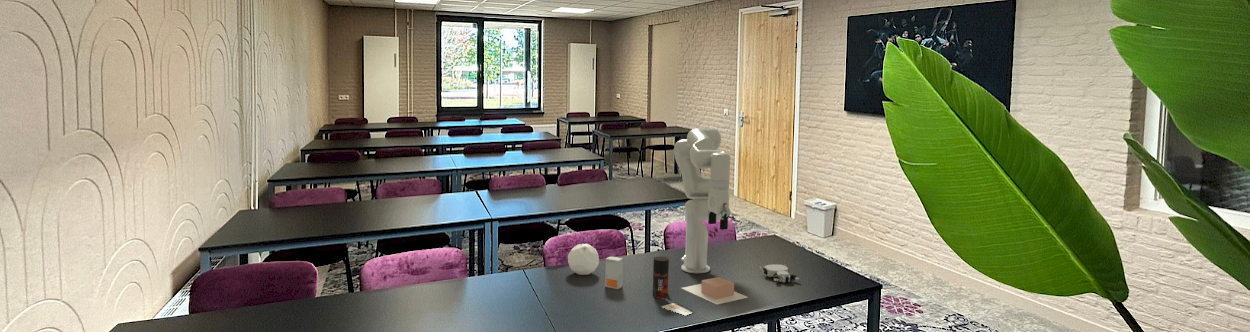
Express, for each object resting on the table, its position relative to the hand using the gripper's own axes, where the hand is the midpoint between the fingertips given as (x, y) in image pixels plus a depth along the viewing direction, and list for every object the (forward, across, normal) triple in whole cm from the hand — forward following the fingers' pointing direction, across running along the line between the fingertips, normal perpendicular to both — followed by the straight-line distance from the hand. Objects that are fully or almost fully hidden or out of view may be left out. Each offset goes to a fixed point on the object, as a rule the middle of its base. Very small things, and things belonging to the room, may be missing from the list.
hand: (717, 226), depth 288 cm
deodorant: (+26, 0, -24) cm, 36 cm away
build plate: (+26, +5, -3) cm, 27 cm away
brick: (+25, +7, -3) cm, 26 cm away
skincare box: (+26, -16, -38) cm, 49 cm away
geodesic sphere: (+26, -36, -44) cm, 63 cm away
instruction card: (+26, +16, -22) cm, 38 cm away
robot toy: (+27, -6, +33) cm, 43 cm away
